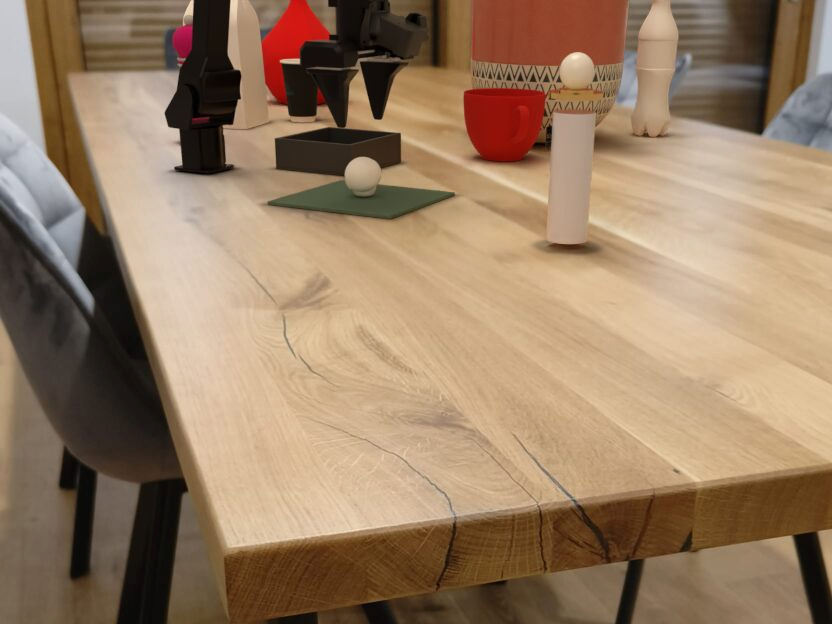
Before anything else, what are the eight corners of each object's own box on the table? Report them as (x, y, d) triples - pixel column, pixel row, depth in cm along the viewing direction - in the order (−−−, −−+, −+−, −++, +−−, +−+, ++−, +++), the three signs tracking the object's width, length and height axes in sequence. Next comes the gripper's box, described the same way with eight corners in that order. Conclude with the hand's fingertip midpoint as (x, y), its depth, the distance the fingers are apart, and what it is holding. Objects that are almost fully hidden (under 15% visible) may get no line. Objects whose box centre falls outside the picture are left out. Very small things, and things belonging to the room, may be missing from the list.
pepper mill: (210, 146, 186) (201, 16, 177) (170, 144, 187) (158, 15, 179) (226, 140, 193) (218, 14, 184) (187, 138, 194) (177, 13, 185)
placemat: (390, 219, 135) (390, 215, 135) (267, 204, 142) (267, 201, 142) (454, 195, 150) (455, 192, 150) (340, 183, 157) (340, 180, 157)
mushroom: (388, 198, 145) (388, 158, 143) (355, 201, 143) (354, 161, 141) (371, 191, 149) (370, 153, 147) (338, 194, 147) (337, 155, 145)
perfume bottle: (602, 246, 124) (616, 52, 115) (573, 254, 120) (586, 55, 111) (559, 238, 127) (570, 49, 118) (530, 246, 123) (539, 51, 114)
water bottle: (624, 135, 204) (636, -15, 193) (636, 131, 210) (649, -15, 199) (661, 138, 201) (676, -14, 190) (673, 134, 207) (688, -14, 196)
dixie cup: (330, 119, 220) (328, 59, 215) (310, 124, 213) (308, 62, 208) (295, 117, 222) (292, 58, 218) (274, 121, 216) (271, 60, 211)
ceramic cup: (483, 170, 168) (485, 100, 164) (452, 153, 183) (453, 88, 178) (563, 167, 171) (567, 98, 167) (526, 151, 186) (529, 87, 181)
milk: (186, 126, 208) (173, -28, 196) (211, 119, 218) (201, -28, 206) (246, 129, 205) (236, -27, 194) (269, 121, 215) (261, -27, 204)
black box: (351, 176, 162) (350, 145, 160) (276, 168, 167) (274, 138, 165) (401, 162, 174) (401, 132, 172) (329, 155, 179) (328, 126, 177)
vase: (246, 105, 240) (236, -50, 227) (281, 96, 256) (274, -49, 242) (325, 109, 235) (320, -49, 222) (356, 100, 251) (353, -48, 238)
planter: (510, 127, 213) (516, -30, 201) (641, 138, 201) (655, -27, 189) (439, 143, 192) (441, -30, 181) (580, 157, 180) (592, -27, 168)
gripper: (377, -9, 125) (379, 137, 132) (451, -11, 140) (448, 120, 147) (294, -11, 129) (300, 130, 136) (374, -13, 144) (375, 114, 151)
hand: (360, 123), depth 142 cm, fingers open, 9 cm apart
